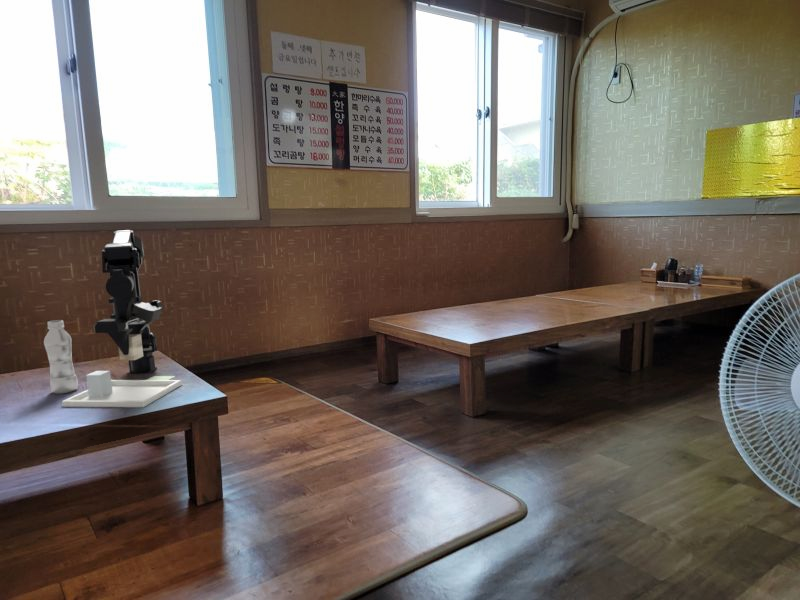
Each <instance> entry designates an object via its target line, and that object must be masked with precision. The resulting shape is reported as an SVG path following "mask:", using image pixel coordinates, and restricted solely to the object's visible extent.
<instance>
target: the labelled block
mask: <svg viewBox="0 0 800 600" xmlns="http://www.w3.org/2000/svg"><path fill="white" fill-rule="evenodd" d="M118 354H119V361H128V360H136V359H139V358H141V357H143V348H142V339H141V334H129V354H128V355H124V354H123V353H122V351H121V350H120V349H119V348H118Z"/></svg>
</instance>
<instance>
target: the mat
mask: <svg viewBox="0 0 800 600" xmlns="http://www.w3.org/2000/svg"><path fill="white" fill-rule="evenodd" d="M175 377H176V375H153V376H151V377H149V378H147V379H146V380H173V378H175Z"/></svg>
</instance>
